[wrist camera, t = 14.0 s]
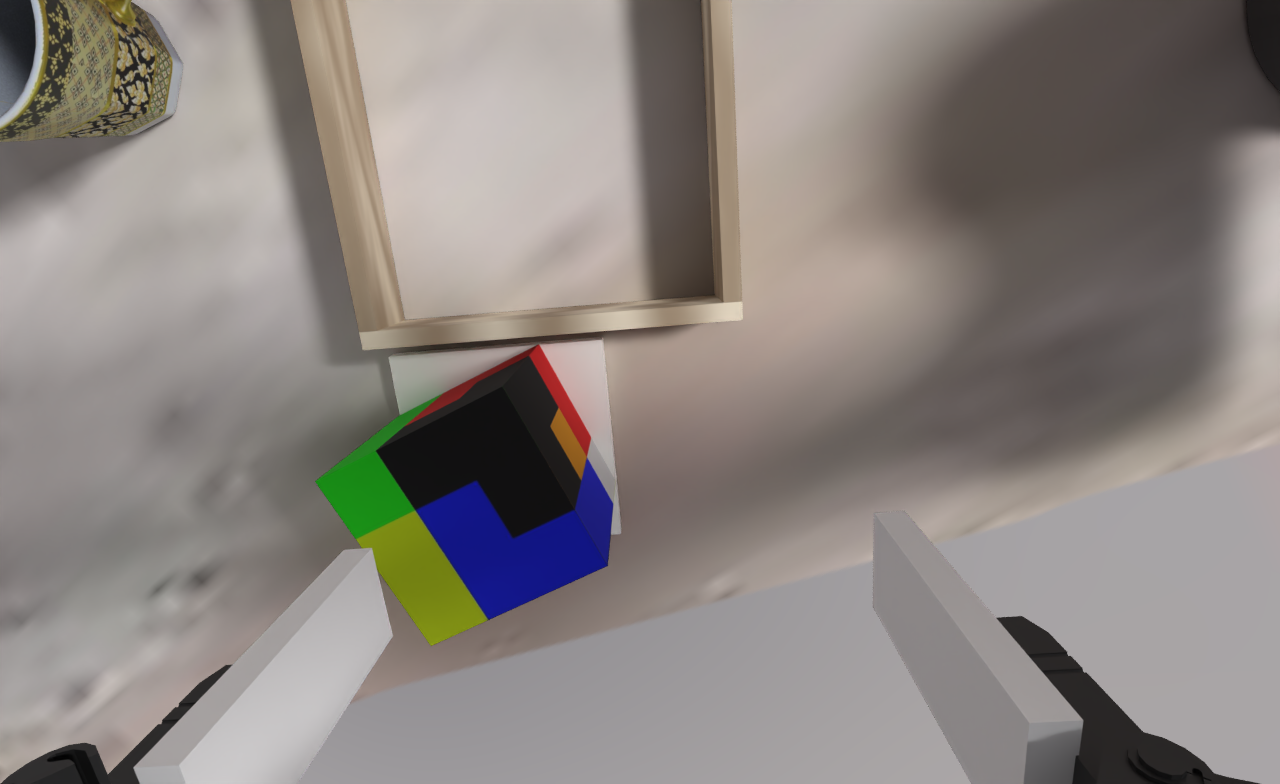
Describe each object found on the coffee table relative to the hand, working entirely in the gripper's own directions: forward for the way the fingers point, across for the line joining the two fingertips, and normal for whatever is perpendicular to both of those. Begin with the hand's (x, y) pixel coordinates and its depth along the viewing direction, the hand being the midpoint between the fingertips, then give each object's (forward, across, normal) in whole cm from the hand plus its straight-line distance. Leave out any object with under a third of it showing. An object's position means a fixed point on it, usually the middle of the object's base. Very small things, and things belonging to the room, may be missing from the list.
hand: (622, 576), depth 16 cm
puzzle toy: (+22, +9, +4) cm, 24 cm away
